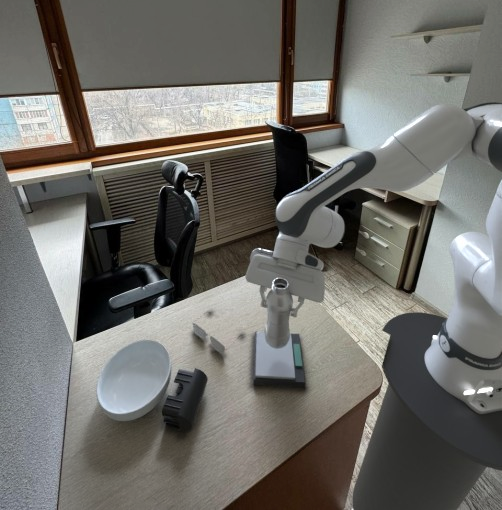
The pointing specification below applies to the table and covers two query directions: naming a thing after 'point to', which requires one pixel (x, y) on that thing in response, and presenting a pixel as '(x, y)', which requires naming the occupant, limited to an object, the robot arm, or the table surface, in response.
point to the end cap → (185, 400)
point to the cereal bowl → (134, 380)
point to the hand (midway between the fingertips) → (278, 311)
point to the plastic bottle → (278, 314)
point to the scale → (278, 363)
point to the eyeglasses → (214, 342)
